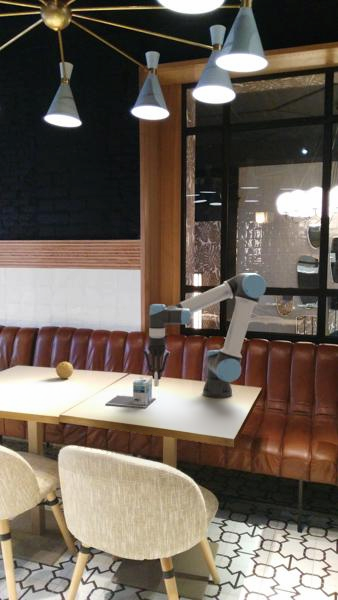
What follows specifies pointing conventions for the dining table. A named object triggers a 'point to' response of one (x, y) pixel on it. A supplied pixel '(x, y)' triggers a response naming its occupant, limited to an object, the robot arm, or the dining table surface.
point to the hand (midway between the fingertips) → (156, 385)
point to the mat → (127, 402)
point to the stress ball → (64, 370)
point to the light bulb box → (142, 391)
